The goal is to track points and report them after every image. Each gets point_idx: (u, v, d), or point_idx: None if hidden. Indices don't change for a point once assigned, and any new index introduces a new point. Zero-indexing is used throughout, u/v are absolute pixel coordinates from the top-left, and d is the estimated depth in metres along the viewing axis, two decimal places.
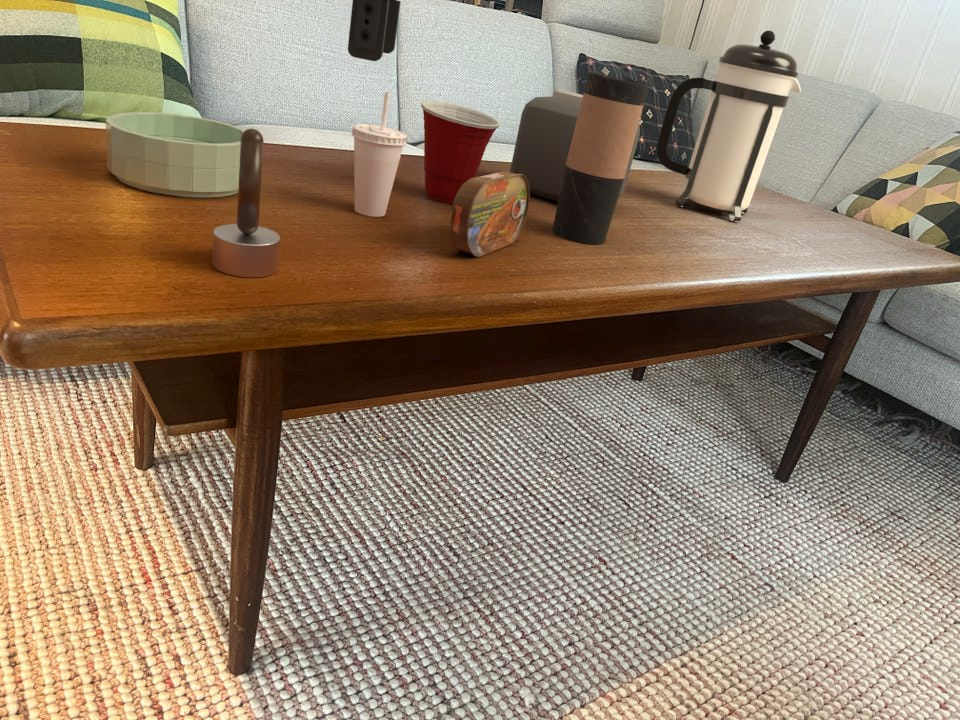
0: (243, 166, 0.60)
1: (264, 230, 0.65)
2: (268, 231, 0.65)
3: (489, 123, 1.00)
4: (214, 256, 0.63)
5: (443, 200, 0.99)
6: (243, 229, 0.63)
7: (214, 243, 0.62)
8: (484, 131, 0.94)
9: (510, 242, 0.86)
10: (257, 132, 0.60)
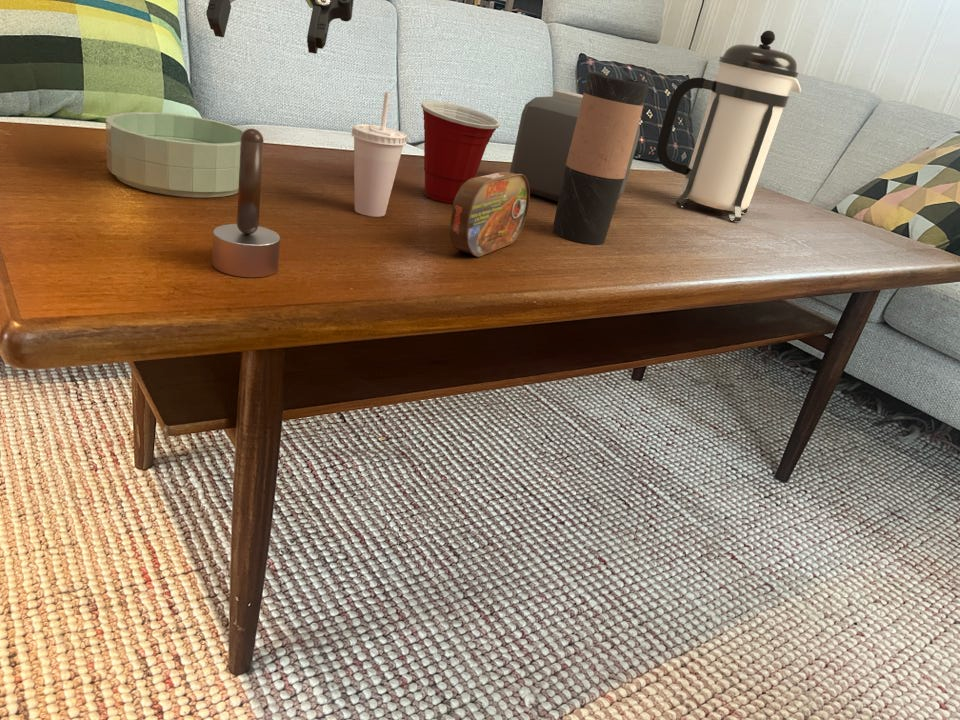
0: (243, 166, 0.60)
1: (264, 230, 0.65)
2: (268, 231, 0.65)
3: (489, 123, 1.00)
4: (214, 256, 0.63)
5: (443, 200, 0.99)
6: (243, 229, 0.63)
7: (214, 243, 0.62)
8: (484, 131, 0.94)
9: (510, 242, 0.86)
10: (257, 132, 0.60)
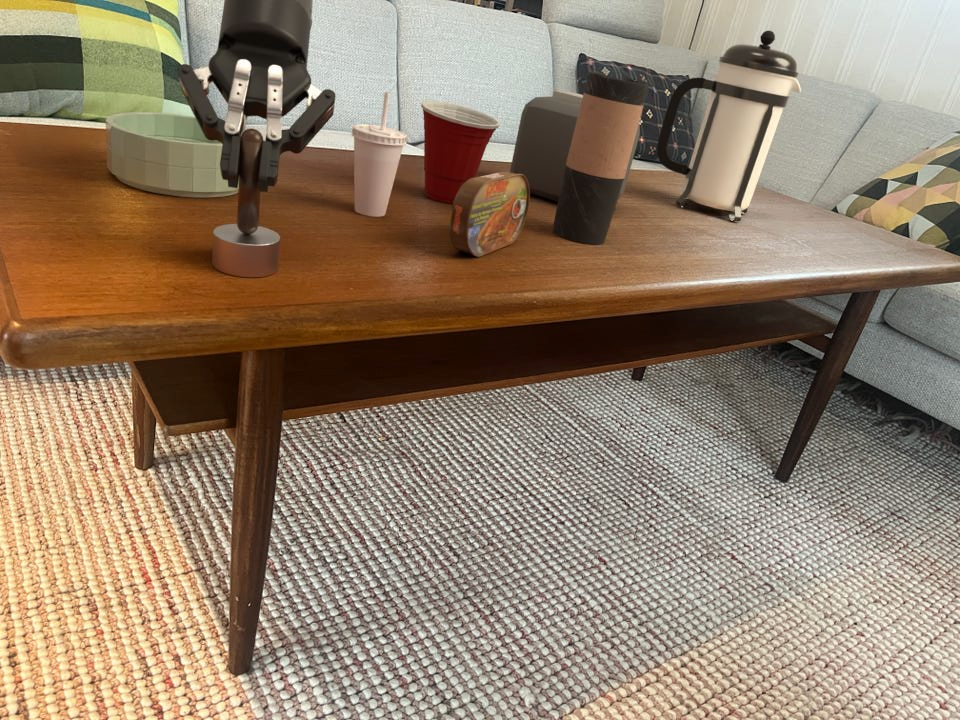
0: (243, 166, 0.60)
1: (264, 229, 0.65)
2: (268, 231, 0.65)
3: (489, 123, 1.00)
4: (214, 256, 0.63)
5: (443, 200, 0.99)
6: (243, 229, 0.63)
7: (214, 243, 0.62)
8: (484, 131, 0.94)
9: (510, 242, 0.86)
10: (257, 132, 0.60)
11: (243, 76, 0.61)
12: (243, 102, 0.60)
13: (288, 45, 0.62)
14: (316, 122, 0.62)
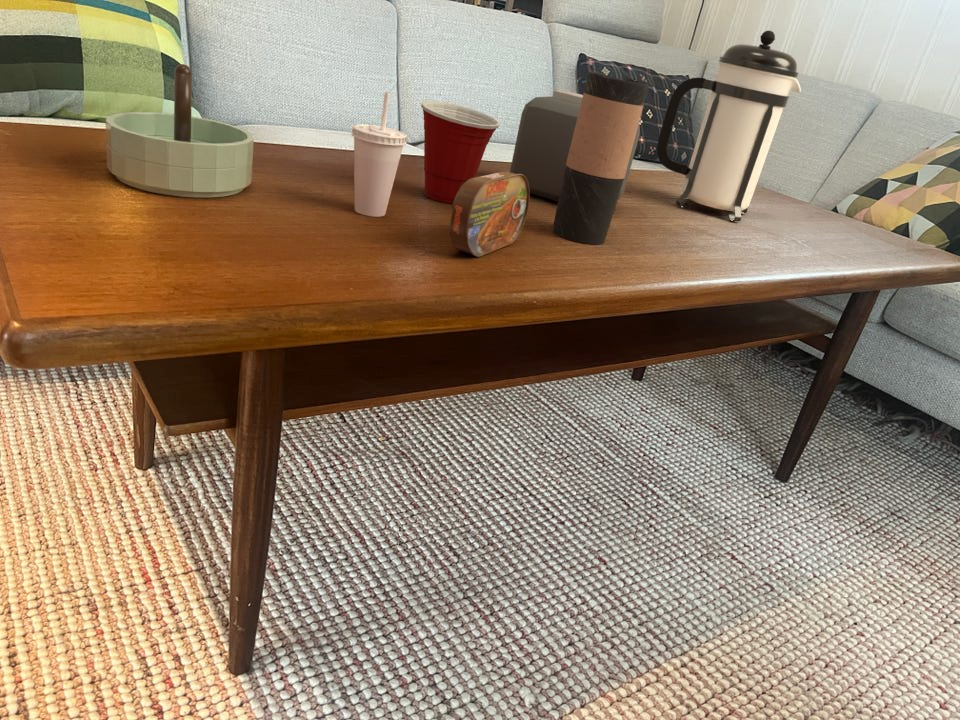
0: (176, 92, 0.80)
1: None
2: None
3: (489, 123, 1.00)
4: None
5: (443, 200, 0.99)
6: None
7: None
8: (484, 131, 0.94)
9: (510, 242, 0.86)
10: (186, 66, 0.80)
11: None
12: None
13: None
14: None
